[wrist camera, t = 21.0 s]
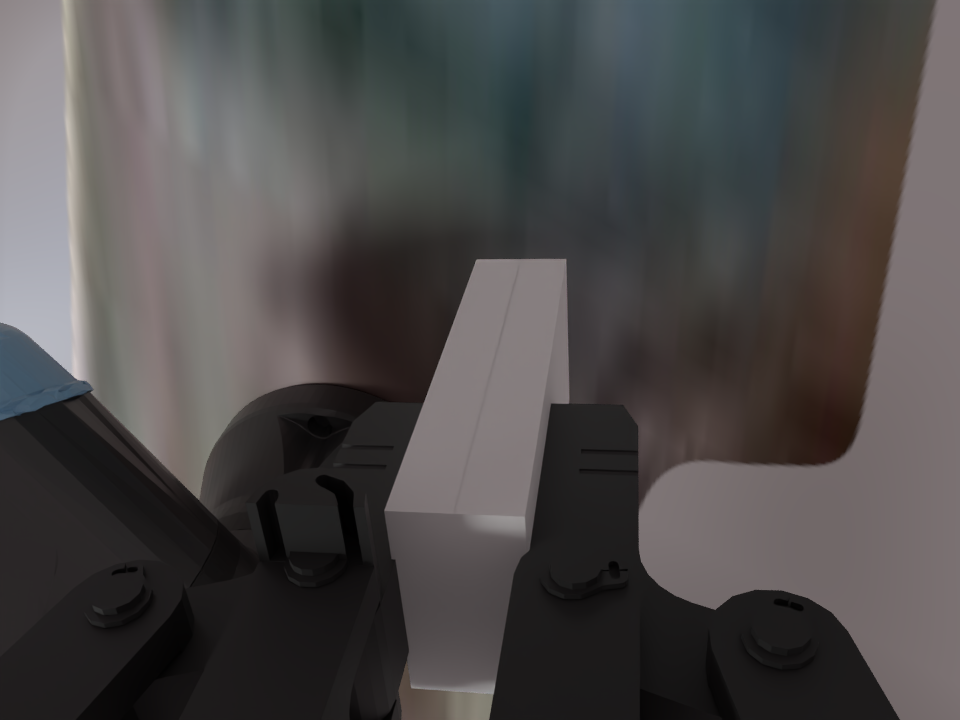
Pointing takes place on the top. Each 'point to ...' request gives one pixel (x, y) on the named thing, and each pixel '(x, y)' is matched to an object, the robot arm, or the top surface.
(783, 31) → the top surface
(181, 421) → the top surface
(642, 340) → the top surface
